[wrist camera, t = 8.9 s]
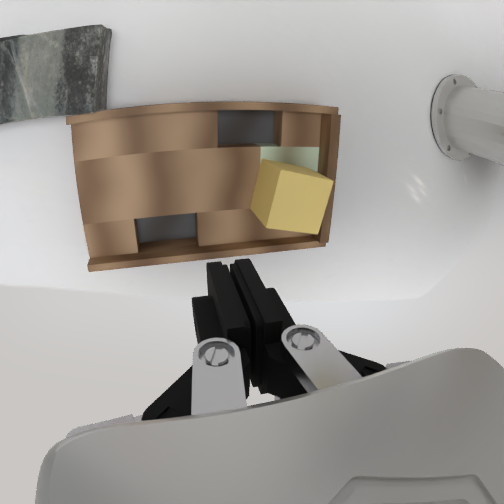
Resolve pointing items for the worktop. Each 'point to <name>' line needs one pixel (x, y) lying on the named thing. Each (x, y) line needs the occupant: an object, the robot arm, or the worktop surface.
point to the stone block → (54, 73)
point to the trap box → (192, 178)
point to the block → (290, 197)
